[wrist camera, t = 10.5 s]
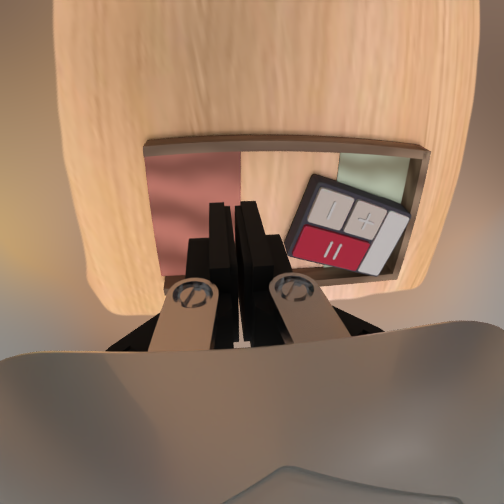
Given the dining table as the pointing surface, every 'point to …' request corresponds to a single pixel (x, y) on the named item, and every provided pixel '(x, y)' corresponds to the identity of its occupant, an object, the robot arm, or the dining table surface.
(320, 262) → the calculator
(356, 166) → the brown wooden tray
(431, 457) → the robot arm
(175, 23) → the dining table surface
